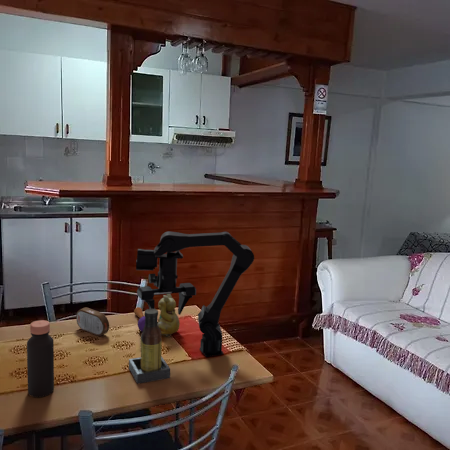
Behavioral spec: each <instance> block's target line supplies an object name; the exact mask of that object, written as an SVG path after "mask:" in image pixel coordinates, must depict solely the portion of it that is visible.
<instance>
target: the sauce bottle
mask: <svg viewBox="0 0 450 450" xmlns="http://www.w3.org/2000/svg"><path fill="white" fill-rule="evenodd" d="M143 316H145V326H144V329H143V331H141V335H140V357H141V371H142V372H146V371H152V370H158V369H161V356H162V348H163V347H162V344H163V343H162V335H161V330H160V328H159V326H158V319H159V310H158V309H157V308H155V309H149V308H148V309H145V310H144V312H143Z"/></svg>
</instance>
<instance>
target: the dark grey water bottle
mask: <svg viewBox="0 0 450 450" xmlns="http://www.w3.org/2000/svg"><path fill="white" fill-rule="evenodd" d="M50 325H51V323H50V322H49V321H48V320H43V319H40V320H34V321H32V322H31V323H30V325H29V329H30V330H29V332H30V335H31V336H30V338H28V339H27V342H26V362H27V363H26V365H27V367H26V368H27V371H26V372H27V393H28V395H29V396H30V397H33V398H43V397H46V396H49V395H51V394H52V393H53V391H54V390H55V366H54V365H55V362H54V361H55V359H54V358H55V357H54V352H55V351H54V347H55V346H54V338H53V337H52V336H51V335H49V334H50V331H51V330H50V329H51V326H50Z"/></svg>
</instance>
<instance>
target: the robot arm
mask: <svg viewBox="0 0 450 450" xmlns="http://www.w3.org/2000/svg"><path fill="white" fill-rule="evenodd" d="M215 246H224V247H226V248H227V249H228V250H229V251H230V253H232V257H231V260H230V261H231V262H230V265H229V266H230V267H229V268H228V271H227V273H226V274H225V276H224V278H223V279H222V282H221V283H220V285H219V287H218V289H217V291H216V292H215V295H214V297H213V298H212V299H211V300H212V301H211V302H210V303H209V304H208V305H207V306H205V304H203V305H202V306H201V309H200V311H199V313H197V317H198V318H197V321H198V327H199V330H200V332H201V333H202V335H201V339H200V347H199V350H200V351H201V353H202V355H204V356H205V357H206V358H209V357H216V356H222V355H224V351H223V349H222V347H223V332H222V327H221V324H220V323H219V321H220V317H221V313H222V310H223V308H224V307H225V304H226V302H227V301H228V299H229V297H230V295H231V294H232V292H233V290H234V288H235V286H236V285H237V282H238V280H239V279H240V278H241V276H242V275H243V273H245V272H246V271H247V270H249V268H250V266H252V264H253V263H254V260H255V254H254V252H253V251H252V249H251V248H250V247H249V246H248V245H247V244H241V242H239V241H238V240H237V239H236V238H235V237H234V236H233V235H231V233H229V232H228V231H222V232H207V233H190V234H189V233H182V232H178V231H177V232H176V231H165V232H164V233H162V234H161V235H160V240H159V242H158V244H156V246H155V247H154V249H143V248H137V251H136V255H137V256H136V262H135V270H136V271H155V270H156V268H157V269H158V271H157V275H156V273H154V272H153V273H149V274H148V284H153V287H154V286H155V287H156V288H153V289H152V287H151V286H139V287H138V288H137V291H136V292H137V294H136V295H137V297H139V299H140V300H141V301H144V302H145V303H146V304H147V305H148V309H156V308H155V305H156V304H155V301H156V300H155V299H154V297H155V296H157V295H166V294H178V304H177V305H178V306H177V307H178V308H177V315H181V314H182V312H183V310H184V309H185V306H186V304H187V303H188V302H189V300H190V299H192V298H193V296H196V295H197V288H196V286H195V285H193V284H192V283H191V282H184V283H183V282H182V283H179V286H177V279H178V277H179V276H178V274H177V273H178V272H177V269H178V259H180V260H181V259H183V258H184V255H183V253H181V251H182V250H184V249H188V248H199V247H200V248H201V247H215ZM158 260H159V264H158ZM158 267H159V268H158Z"/></svg>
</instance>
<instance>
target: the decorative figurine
mask: <svg viewBox="0 0 450 450" xmlns="http://www.w3.org/2000/svg"><path fill="white" fill-rule="evenodd" d="M171 294H172V293H171ZM171 294H162V296H163V297H162V298H160V300H159V301H158V304H157V307H158V309H159V311H160V314H159V315H158V318H157V319H158V320H157V321H158V326H159V328H160V330H161V336H164V335H166V336H165V337H168V336H170V335H171V336H172V334H175V333H177V332H178V331H179V329H180V325H181V323H180V319H179V316H178V313H176V307H177V303H176V301H175V299H174V298H173V296H172V295H171ZM171 336H170V337H171Z"/></svg>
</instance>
